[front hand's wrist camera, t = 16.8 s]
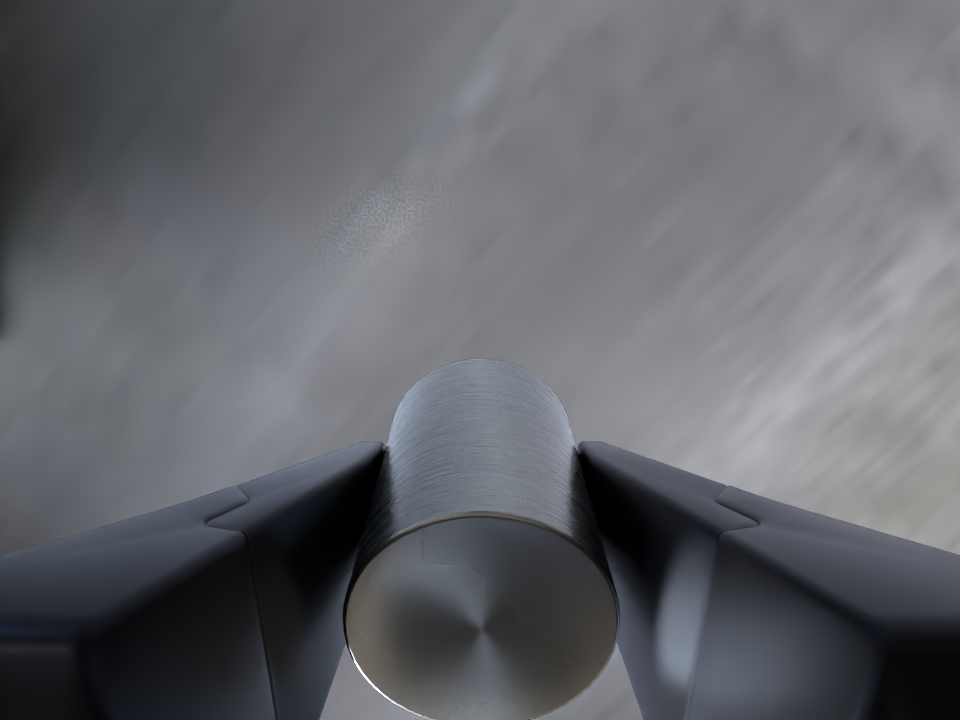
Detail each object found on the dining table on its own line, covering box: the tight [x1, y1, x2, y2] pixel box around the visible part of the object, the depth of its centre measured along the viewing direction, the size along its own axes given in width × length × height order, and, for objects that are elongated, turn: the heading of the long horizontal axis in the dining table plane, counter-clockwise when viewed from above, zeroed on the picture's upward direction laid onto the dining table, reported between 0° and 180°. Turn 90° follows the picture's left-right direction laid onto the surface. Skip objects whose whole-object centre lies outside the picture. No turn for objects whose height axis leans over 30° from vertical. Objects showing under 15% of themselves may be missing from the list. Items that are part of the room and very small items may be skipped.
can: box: [342, 359, 620, 720], centre depth 10 cm, size 4×4×5 cm
